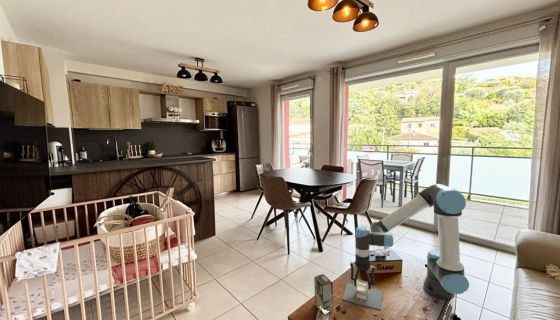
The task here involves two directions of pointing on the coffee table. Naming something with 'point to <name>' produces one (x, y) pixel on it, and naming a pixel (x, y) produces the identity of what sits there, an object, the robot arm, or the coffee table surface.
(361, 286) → the cream block
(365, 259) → the robot arm
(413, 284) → the coffee table surface
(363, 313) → the coffee table surface
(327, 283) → the coffee box
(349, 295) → the mat
